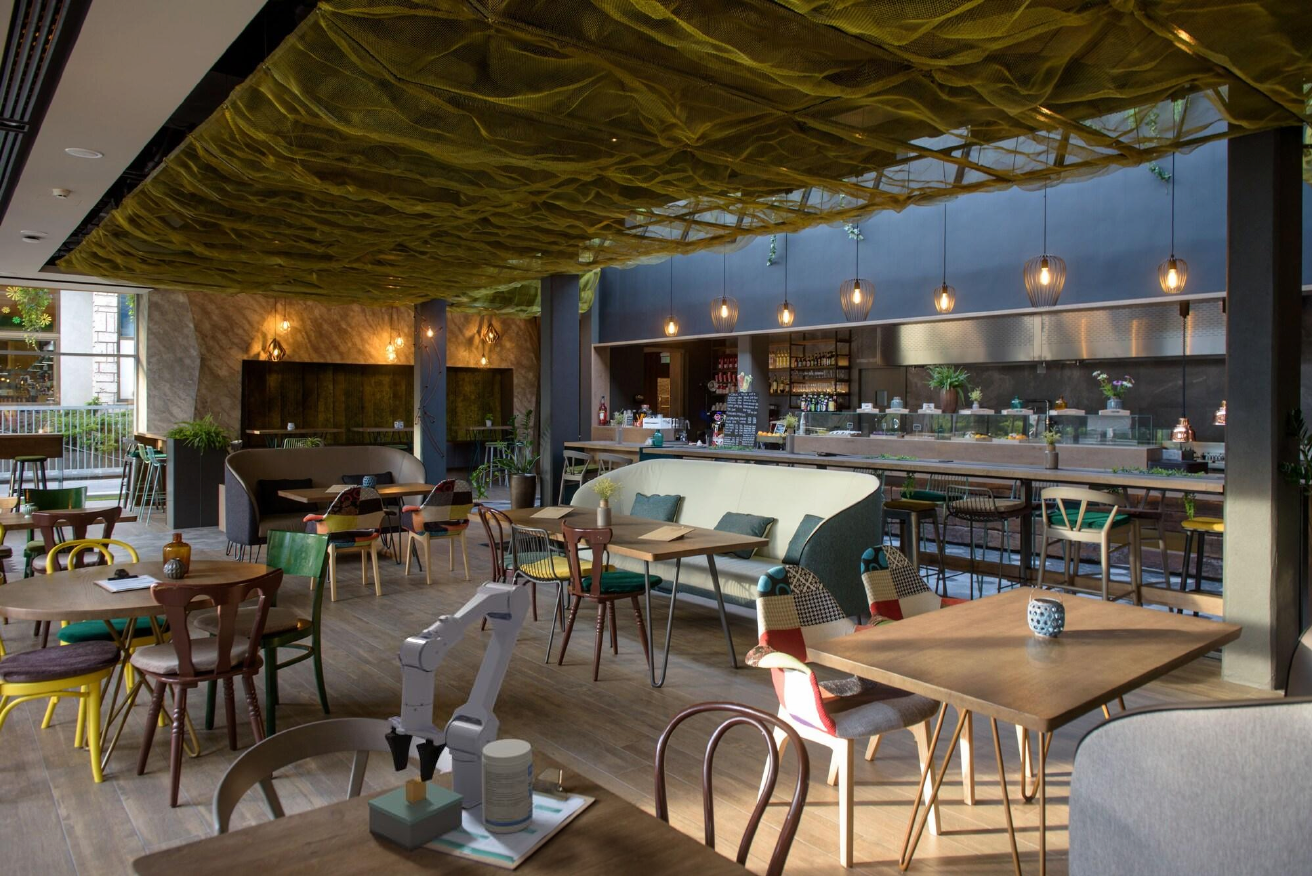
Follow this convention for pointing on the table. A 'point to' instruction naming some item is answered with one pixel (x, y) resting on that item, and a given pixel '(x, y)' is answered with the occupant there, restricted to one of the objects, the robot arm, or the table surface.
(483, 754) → the supplement tub
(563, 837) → the table surface
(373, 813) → the parts tub
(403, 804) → the lid
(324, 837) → the table surface
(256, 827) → the table surface
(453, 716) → the robot arm
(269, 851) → the table surface
